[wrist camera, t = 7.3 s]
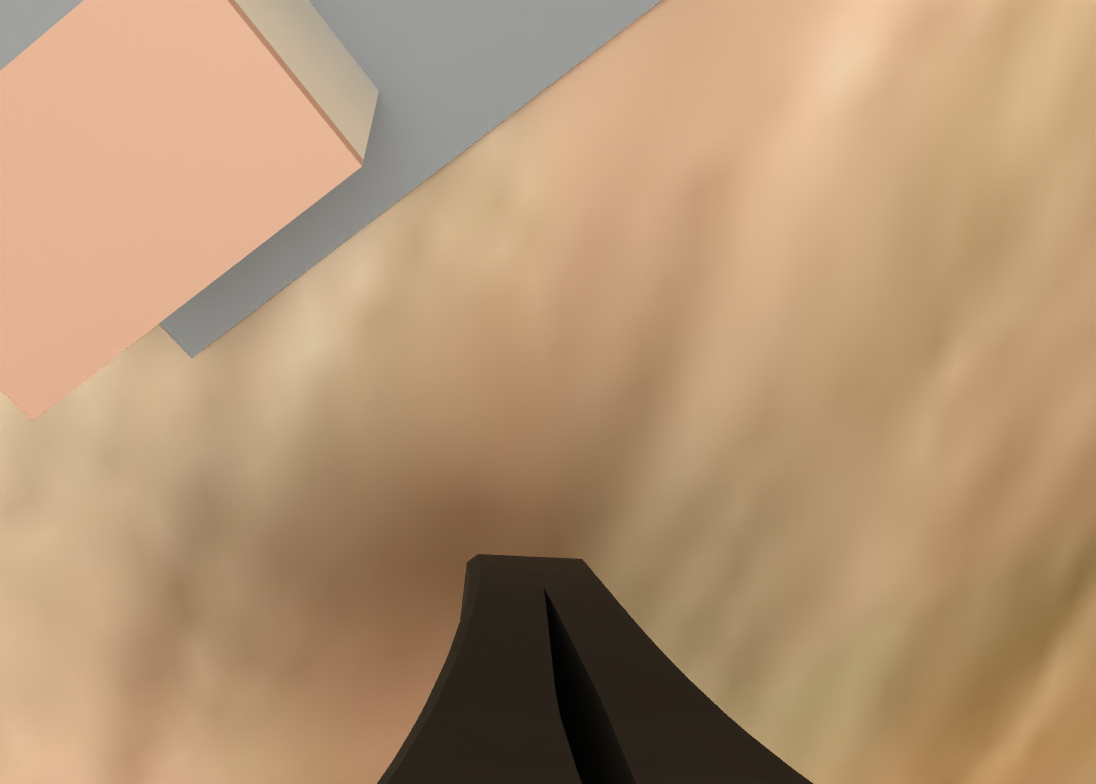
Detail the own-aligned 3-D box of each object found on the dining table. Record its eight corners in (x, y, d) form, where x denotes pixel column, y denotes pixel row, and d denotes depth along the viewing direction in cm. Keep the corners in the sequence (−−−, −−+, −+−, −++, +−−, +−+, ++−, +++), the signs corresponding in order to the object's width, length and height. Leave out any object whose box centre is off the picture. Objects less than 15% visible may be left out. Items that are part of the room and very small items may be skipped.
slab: (378, 90, 14) (361, 166, 9) (153, 269, 15) (34, 421, 10) (255, -70, 13) (169, -72, 8) (18, 127, 14) (-181, 223, 9)
